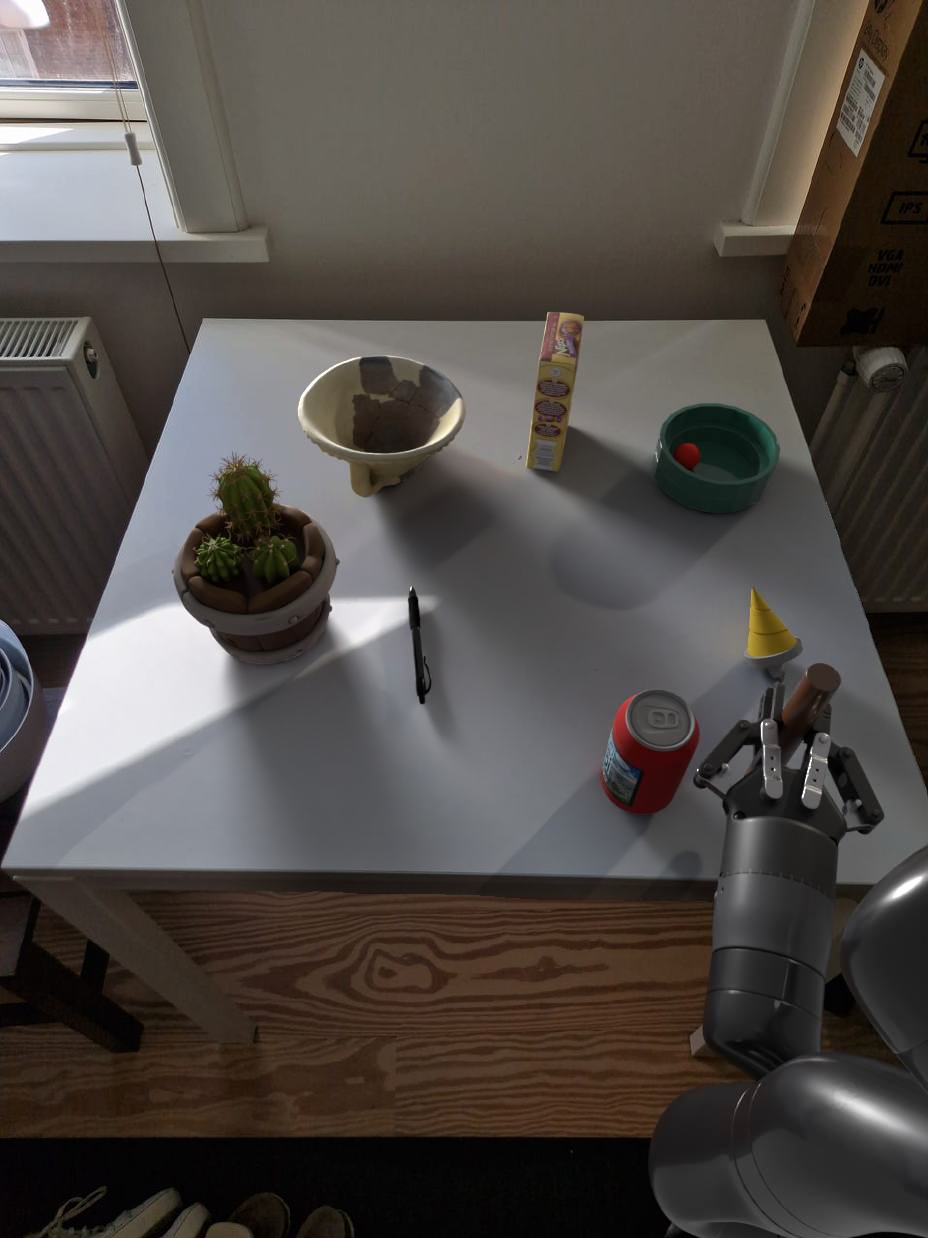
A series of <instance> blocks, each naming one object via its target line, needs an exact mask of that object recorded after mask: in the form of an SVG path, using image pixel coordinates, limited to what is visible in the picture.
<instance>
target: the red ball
mask: <svg viewBox="0 0 928 1238" xmlns="http://www.w3.org/2000/svg"><path fill="white" fill-rule="evenodd" d="M673 458H674V460H676V461H677V462H678V463H679V464H681V465H682V466H683V467H684V468H686V469H691V468H693V467H695V466H696V465H697V464H698V462H699V460H700V451H699V449H698V448H697V446H695V445H694V444H691V443H684V444H681V445H679V446H678V447H677V448H676V450H675V452H674V456H673Z"/></svg>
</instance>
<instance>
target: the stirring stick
mask: <svg viewBox="0 0 928 1238" xmlns="http://www.w3.org/2000/svg"><path fill="white" fill-rule="evenodd" d="M841 684H842V677H841V673H839V671H838V670H837V669H836V668H835V667H834V666H832V665H830V664H828V663H825V662H815V663H812V664H811V665H809V666H808V667H807V669H806V670H805V672H804V674H803V676H802V677H801V679H800V680H799V682H798V684H797V685H796V687H795V689H794V690H793V692H792V694H791V695H790V697H789V699H788V700H787V702H786V704H785V706H783V711H782V721H781V723H780V725H779V726H778V746H779V747H780V750H781V764H783V765H785V766H787V764H789V761H790V760H791V759H792V757H793V756H794V755H795V754H796V751H797V750H798V749H799V747H800V746H801V744H803V740H804V738H805V737H806V735H807V734H808V732H809V731H810V729H811V728H812V726H813V725H814V723H815V722H816V720H817V719H818V718H819V716H820V715H821V713H822V712H823V710H824V709H825V707H826V706H827V704H828V703H829V702H831V700H832V698H833V697H834V695H835V694H836V693H837V691H838V690H839V688H840V687H841ZM752 761H753V759H752ZM752 761H751V762H750V764H749V765H748V767H747V768H746V770H745V772H744V775H743V777H744V776H745V775H747V774H748V773H749V772H750V771H751V766H752Z"/></svg>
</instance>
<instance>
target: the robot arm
mask: <svg viewBox="0 0 928 1238" xmlns="http://www.w3.org/2000/svg"><path fill="white" fill-rule="evenodd" d="M785 695H786V683H784V682H779V681H775V682H774V684H773V686H772V687H771V686H768V687H767V688H766V689H765V691H764V693H763V694H762V696H761V698H760V700H759V707H758V714H757V721H756V722H751V721H749V720H748V719H745V718H744V719H739V720H738V721H737V722H736V723H735V724H734V725H733V726H732V728H731V729H730V730H729V731H728V732H727V733H726V734H725V735H724V736H723V738H722V739H721V740H720V741H719V742H718V743H717V744H716V745H715V747H714V748H712V750H711V751H710V752H709V753H708V754H707V755H706V756H705V758H704V759H703V760H702V761H701V762H700V764H699V766H698V767H697V770H696V772H695V774H694V775H693V779H692V783H693V785H694V787H696V788H697V789H699V790H705V789H708V790H709V791H710V792H712V793H713V794H715V795H716V796H717V797H718V798H720V799H721V800H722V801H721V804H722V805H721V807H722V809H723V812H724V815H725V818H726V826H725V833H724V839H723V845H722V853H721V859H720V860H721V861H720V866H719V867H720V868H719V873H718V881H717V888H716V891H715V892H714V898H713V916H712V931H711V932H712V933H711V934H712V947H711V948H712V949H711V957H710V964H709V971H708V977H707V984H706V985H707V986H706V990H705V991H706V992H705V1000H704V1007H703V1011H702V1012H703V1014H702V1025H701V1028H702V1029H701V1030H702V1037H703V1040H704V1042H705V1044H706V1046H707V1047H708V1049H709V1050H710V1051H711V1052H713V1053H714V1054H715V1055H716V1056H718V1057H719V1058H721V1060H723V1061H725V1062H726V1063H728V1064H729V1065H731V1066H732V1067H735V1068H736V1069H738V1070H739V1071H741V1072H743V1073H744V1074H745V1075H747V1076H748V1077H749V1078H751V1079H752V1080H753V1081H754V1083H753V1082H727V1083H726V1082H725V1083H715V1084H704V1085H698V1086H695V1087H692V1088H690V1089H687V1090H685V1091H684V1092H682V1093H680V1094H678V1096H676V1097H675V1098H674V1099H672V1101H671V1102H670V1103H669V1104H668V1105H667V1107H666V1108H665V1109H664V1110H663V1112H662V1114H661V1115H660V1117H659V1118H658V1120H657V1122H656V1125H655V1127H654V1129H653V1132H652V1136H651V1138H650V1143H649V1149H648V1158H647V1159H648V1160H647V1166H648V1167H647V1168H648V1177H649V1183H650V1187H651V1189H652V1192H653V1195H654V1198H655V1200H656V1203H657V1205H658V1206H659V1208H660V1210H661V1211H662V1212H663V1214H664V1215H665V1216H666V1218H667V1219H668V1220H669V1221H670V1222H671V1223H672V1224H674V1225H675V1226H676V1227H677V1228H679V1229H680V1230H682V1231H684V1232H686V1233H688V1234H690V1235H692V1236H695V1237H698V1238H854V1237H860V1236H864V1235H868V1234H874V1233H884V1232H885V1233H901V1234H908V1235H913V1236H918V1237H923V1238H928V843H926V845H924V846H922V847H920V848H919V849H918V850H916V851H915V852H913V853H912V854H910V855H909V856H907V857H906V858H905V859H904V860H902V861H901V862H900V863H898V864H897V865H896V866H894V867H893V868H892V869H891V870H890V871H889V872H888V873H886V874H885V876H883V877H882V878H881V879H880V880H878V882H876V883H875V884H874V885H873V886H872V887H871V889H869V891H868V892H867V893H866V894H865V896H864V897H863V898H862V899H861V901H860V902H859V903H858V905H857V906H856V907H855V908H854V910H853V911H852V913H851V914H850V916H849V918H848V920H847V923H846V925H845V928H844V930H843V933H842V935H841V938H840V941H839V947H838V962H839V967H840V972H841V975H842V977H843V980H844V982H845V984H846V986H847V987H848V989H849V991H850V993H851V995H852V997H853V998H854V1000H855V1002H856V1003H857V1005H858V1006H859V1008H860V1009H861V1011H862V1013H863V1014H864V1015H865V1017H866V1019H867V1020H868V1021H869V1023H870V1025H872V1027H873V1029H874V1030H875V1031H876V1032H877V1034H879V1036H880V1037H881V1038H882V1040H883V1041H884V1043H886V1045H887V1046H888V1047H889V1049H890V1050H891V1052H892V1053H893V1054H895V1055H896V1057H897V1059H898V1060H899V1061H900V1062H901V1063H902V1064H903V1066H904V1067H905V1068H906V1069H907V1070H906V1069H904V1068H901V1067H898V1066H897V1065H893V1064H890V1063H887V1062H885V1061H882V1060H879V1059H876V1058H873V1057H870V1056H865V1055H860V1054H855V1053H851V1052H850V1053H849V1052H845V1051H823V1030H824V1029H823V1028H824V1027H823V1026H824V1025H823V1023H824V1011H825V1010H824V1008H825V995H826V994H825V993H826V981H827V974H828V969H829V965H830V961H831V960H830V959H831V955H832V949H833V942H834V941H833V940H834V928H835V927H834V925H835V909H836V897H837V895H836V893H837V879H838V865H839V864H838V863H839V845H840V842H841V841H842V839H843V838H844V837H845V836H846V834H847V833H851V832H857V833H858V834H860V835H863V836H864V835H865V836H866V835H869V834H871V832H873V830H875V829H876V827H877V826H879V824H880V823H882V822H883V821H884V819H885V812H884V810H883V808H882V806H881V804H880V802H879V800H878V798H877V796H876V794H875V792H874V789H873V788H872V785H871V783H870V781H869V779H868V777H867V774H866V772H865V771H864V769H863V766H862V764H861V762H860V759H859V758H858V756H857V754H856V752H855V750H854V749H853V748H851V747H850V746H840V745H838V744H837V743H836V742H834V740H833V739H832V738H831V726H832V725H831V724H832V723H831V722H832V710H833V708H832V705H831V701H829V703H828V704H827V706H826V707H825V709H824V710H823V712H822V713H821V715H820V716H819V718H818V719H817V720H816V722H815V723H814V725H813V726H812V728H811V729H810V731H809V732H808V734H807V735H806V737H805V738H804V740H803V741H802V744H805V745H806V748H805V750H804V751H803V756H802V761H801V764H800V768H791V767H789V766H787V765H786V766H785V765H783V764H781V750H780V747H779V746H778V726H779V725H780V723H781V721H782V711H783V709H784V703H785ZM744 746H752V760H753V761H751V762H752V766H751V771H750V772H749V773H748V774H747V775H745V776H744V775H743V777H742V778H740V779H739V780H738V781H736V782H735V783H734V784H732V783H730V780H729V779H730V776H731V773H732V771H731V768H730V766H729V765H728V764H729V763H730V762H731V761H732V760H733V759H734V758H735V756H736V755H737V754H738V753H739V752H740V751H741V749H742V748H743V747H744ZM827 770H828V771H829V773H830V776H831V778H832V781H833V782H834V784H835V787H836V789H837V791H838V794H839V795H840V798H841V800H842V803H843V806H841V810H840V808H839V807H838V806H837V804H836V801H834V799H833V797H832V795H831V794H830V792H829V791H828V789H827V787H826V785H824V783H825V779H826V774H827Z"/></svg>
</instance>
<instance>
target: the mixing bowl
mask: <svg viewBox="0 0 928 1238" xmlns="http://www.w3.org/2000/svg"><path fill="white" fill-rule="evenodd" d="M657 438H658V439H657V442H656V447H655V449H654V455H653V459H652V463H651V466H652V467H651V468H652V473H653V477H654V479H655V481H656V482H657V484H658V486H659V487H660V488H661V490H662V491H663V492H664V493H665V494H667V495H668V496H669V497H670V498H671V499H672V500H674V501H675V502H677V503H679V504H680V505H683V506H685V507H687V508H690V509H692V510H694V511H695V510H696V511H700V512H703V513H704V512H705V513H709V514H731V513H735V512H739V511H744V510H747V509H749V508H750V507H751V506H753V505H755V504H756V503H758V502H759V501H760V500H761V499H762V498H763V496H764V495H765V493H766V492H767V491H768V488H769V486H770V483H771V481H772V478H773V476H774V475H775V471H776V469H777V467H778V464H779V462H780V461H779V460H780V453H781V447H780V442H779V439H778V436H777V434H776V433H775V432H774V431H773V430H772V428H771V427H770V426H769V424H767V423H766V422H765V421H763V420H762V419H761V418H759V417H758V416H757V415H755V414H754V413H752V412H750V411H747V410H745V409H742V408H740V407H737V406H734V405H728V404H724V403H721V402H720V403H719V402H717V403H716V402H700V403H694V404H691V405H687V406H683V407H681V408H679V409H677V410H676V411H674V412H672V413H671V414H669V416H668V417H667V418H666V419H665V420H664V421H663V423H662V424H661V427H660V431H659V435H658V437H657ZM684 443H691V444H694V445H695V446H697V448H698V449H699V451H700V460H699V462H698V464H697V465H696V466H695V467H693V468H691V469H686V468H684V467H683V466H682V465H681V464H679V463H678V462H677V461H676V460H674V458H673V456H674V452H675V450H676V448H677V447H678V446H679V445H681V444H684Z"/></svg>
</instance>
